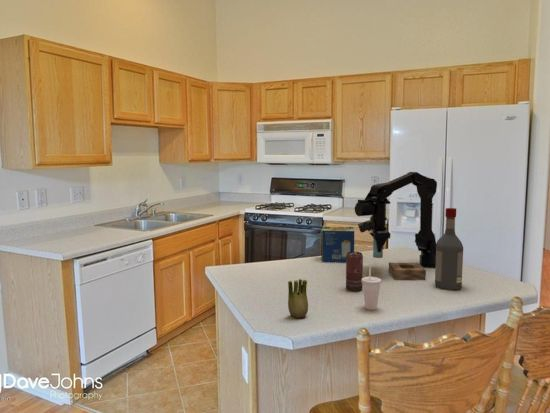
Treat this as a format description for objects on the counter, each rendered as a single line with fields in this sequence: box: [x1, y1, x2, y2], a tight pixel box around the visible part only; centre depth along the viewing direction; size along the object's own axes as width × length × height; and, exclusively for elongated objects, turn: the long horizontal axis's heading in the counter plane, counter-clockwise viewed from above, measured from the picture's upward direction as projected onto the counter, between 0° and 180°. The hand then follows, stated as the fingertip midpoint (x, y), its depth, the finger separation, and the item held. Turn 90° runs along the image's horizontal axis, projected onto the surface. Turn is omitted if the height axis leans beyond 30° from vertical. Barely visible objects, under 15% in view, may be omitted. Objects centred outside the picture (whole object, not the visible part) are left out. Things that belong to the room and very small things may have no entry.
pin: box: [372, 237, 384, 259], centre depth 174 cm, size 4×4×8 cm
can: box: [345, 250, 364, 293], centre depth 154 cm, size 6×6×14 cm
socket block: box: [388, 262, 427, 281], centre depth 171 cm, size 12×12×4 cm
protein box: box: [321, 226, 355, 264], centre depth 197 cm, size 10×15×16 cm
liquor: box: [434, 207, 464, 291], centre depth 155 cm, size 9×9×30 cm
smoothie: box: [361, 266, 382, 311], centre depth 135 cm, size 6×6×14 cm
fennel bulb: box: [287, 278, 309, 319], centre depth 128 cm, size 6×5×12 cm
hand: (378, 251), depth 174 cm, fingers closed on pin, 4 cm apart
